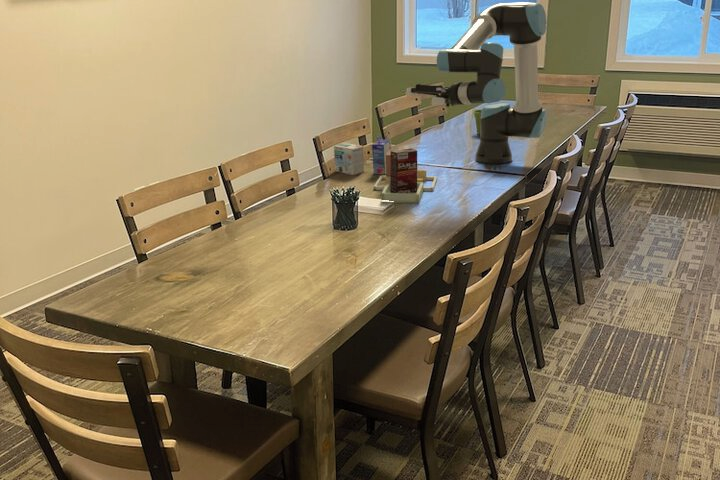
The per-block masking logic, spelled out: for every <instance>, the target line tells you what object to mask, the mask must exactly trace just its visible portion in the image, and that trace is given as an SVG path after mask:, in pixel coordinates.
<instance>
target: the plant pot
mask: <svg viewBox="0 0 720 480" xmlns="http://www.w3.org/2000/svg"><path fill="white" fill-rule="evenodd" d="M481 110H482V108H481V109H474V110H473V111H472V112H473V115H474V120H475V126H476V133H477V134H478V135H480V126H481V119H480V117H481Z"/></svg>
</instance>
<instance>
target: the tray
mask: <svg viewBox="0 0 720 480" xmlns="http://www.w3.org/2000/svg"><path fill="white" fill-rule="evenodd" d="M384 186H385V188H384V190H381V191H382V192H381V193H380V194H381V196H380V197H381V200H389V201H394V202H395V203H394V204H420V202H421V199H422V196H423V193H424V191H423V187H424V182H423V183H420V182H417V193H391V182H388V183H387V184H386V183H385V185H384Z"/></svg>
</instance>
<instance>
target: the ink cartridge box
mask: <svg viewBox="0 0 720 480" xmlns="http://www.w3.org/2000/svg"><path fill="white" fill-rule="evenodd" d="M376 139H377V141H374V143H372V144H371V148H372V149H371V151H372V166H373V168H372V169H373V175H386V154H387V152H388V151H392V139H383V138H382V136H381V135H380V134H379V135H377V136H376Z"/></svg>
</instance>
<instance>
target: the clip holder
mask: <svg viewBox="0 0 720 480" xmlns="http://www.w3.org/2000/svg"><path fill="white" fill-rule="evenodd" d="M383 180H385V185H380V184H381V182H382V181H383ZM425 181H426V182H427V181H432V184H431V186H423V192H434V190H435V186H436V184H437V181H438V176H436V175H435V176H434V175H433V176H432V175H431V176H428V175H427V169H417V182H420V183H423V184H424V182H425ZM388 182H391V177H386V175H383V174H380V176H379V178H378V179H377V180H376V182H375V184H374V185H373V191H383V190H384V188H385V186H386V184H387V183H388Z"/></svg>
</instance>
